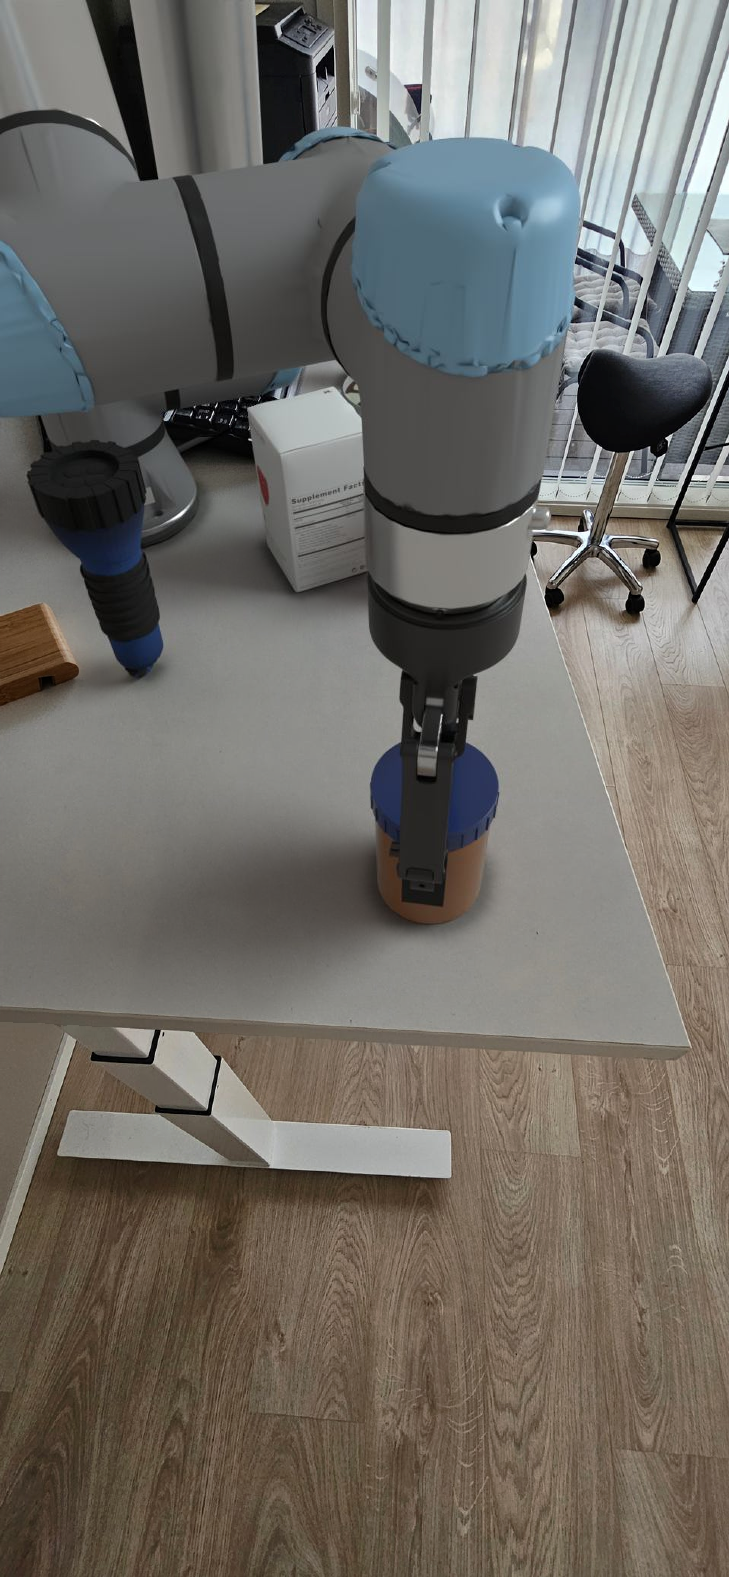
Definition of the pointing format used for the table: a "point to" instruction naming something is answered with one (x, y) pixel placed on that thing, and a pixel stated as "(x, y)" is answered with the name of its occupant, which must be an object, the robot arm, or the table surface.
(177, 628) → the table surface
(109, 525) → the flashlight
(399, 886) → the jar
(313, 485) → the rectangular carton
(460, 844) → the jar lid
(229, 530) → the table surface
